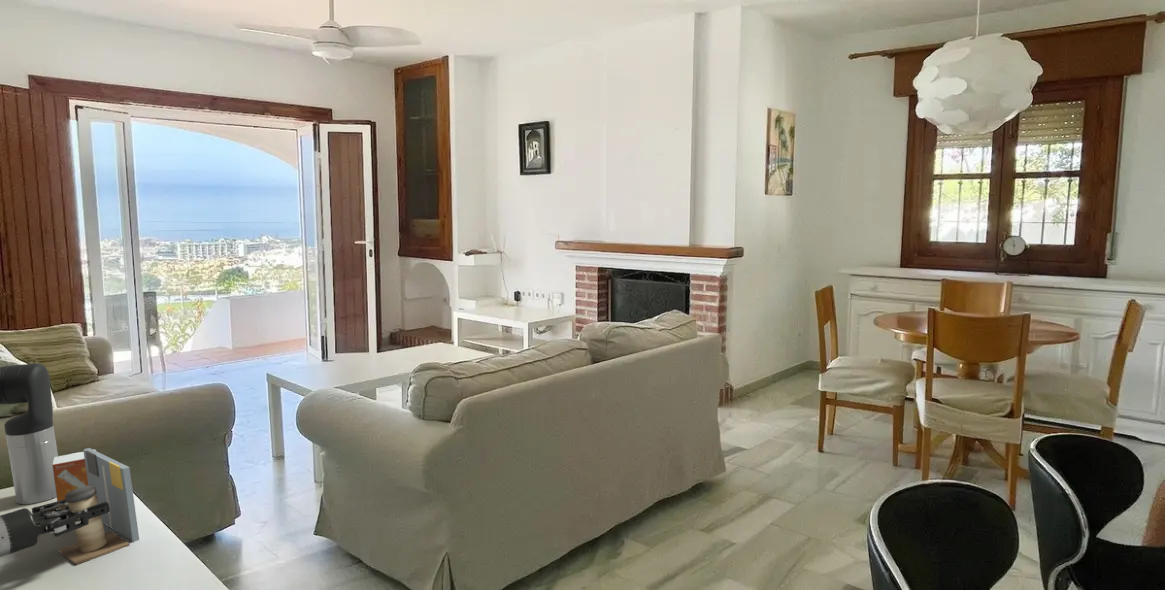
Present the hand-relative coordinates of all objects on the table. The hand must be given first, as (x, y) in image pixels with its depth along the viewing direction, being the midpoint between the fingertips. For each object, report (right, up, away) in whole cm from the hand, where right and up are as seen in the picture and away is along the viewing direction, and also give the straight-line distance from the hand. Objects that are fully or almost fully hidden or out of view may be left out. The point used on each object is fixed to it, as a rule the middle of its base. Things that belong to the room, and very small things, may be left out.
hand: (102, 503), depth 146 cm
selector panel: (-3, -8, +8) cm, 12 cm away
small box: (-18, -7, +19) cm, 27 cm away
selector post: (-1, -9, -1) cm, 9 cm away
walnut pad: (-1, -9, -1) cm, 9 cm away
